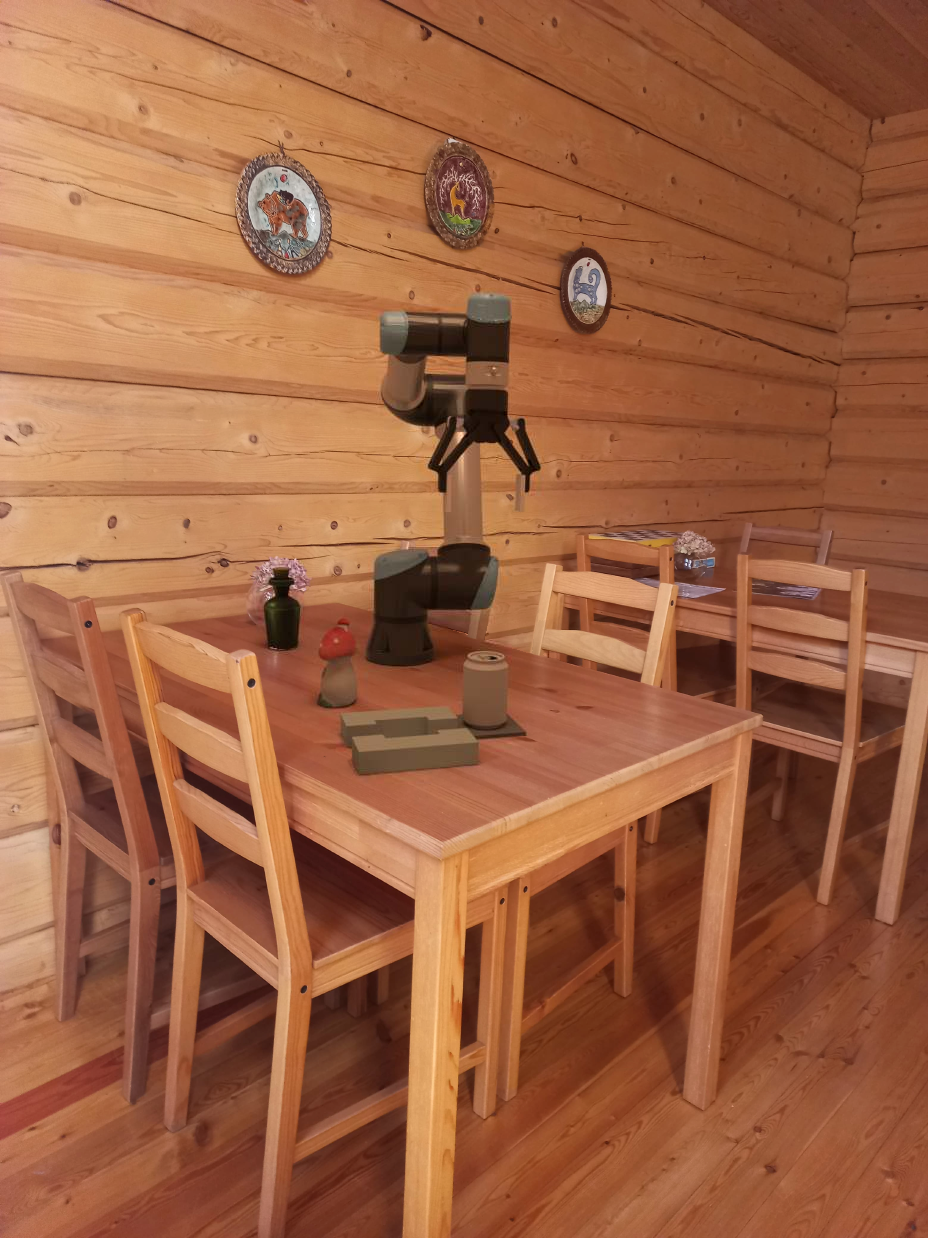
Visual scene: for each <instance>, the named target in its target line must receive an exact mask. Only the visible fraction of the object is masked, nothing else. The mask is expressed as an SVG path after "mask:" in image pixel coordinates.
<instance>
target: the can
mask: <svg viewBox="0 0 928 1238" xmlns="http://www.w3.org/2000/svg"><path fill="white" fill-rule="evenodd" d="M505 659H506V656H505V655H504V654H503V653H501V652H498V651H489V650H483V651H482V650H481V651H473V652H470V653H468V654H467V659H466V660H465V661H464V662H463V665H462V667H463V671H462V672H463V673H462V707H461V708H462V711H461V713H462V719H463V720H464V721H465V722H466V723H467V724H468V725H469V726H470V727H473V728H478V729H493V728H497V727H500V726H501V725H502V724H503V723H504V722H505V721H506V719H507V714H508V688H509V664H508V663H507V661H506V660H505Z"/></svg>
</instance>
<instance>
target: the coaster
mask: <svg viewBox="0 0 928 1238" xmlns="http://www.w3.org/2000/svg"><path fill="white" fill-rule="evenodd" d="M455 715H456V717H457V718H458V729H461V728H467V729H468V730H469V731H470V733H471V734H472V735H473V736H474V737H475V738H476V739H477V740H481V739H482V740H483V739H495V738H497V739H498V738H507V737H520V736H527V731H526V730H525V729H524V728H523V727H522V726H521V725H520V724H519V723H518V722H517V721H516V720H515V719H513V718H512V717H511V716H510V714H508V713H507V719H506V721H505V722H504V723H503V724H502V725H501V726H500V727H497V728H493V729H478V728H473V727H470V726H469V725H468V724H467V723H466V722H465V721H464V720H463V719H462V714H461V713H460V714H455Z"/></svg>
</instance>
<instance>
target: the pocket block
mask: <svg viewBox="0 0 928 1238" xmlns="http://www.w3.org/2000/svg"><path fill="white" fill-rule="evenodd" d="M339 714H340V715H339V716H340V718H339V719H340V721H339V722H340V725H339V726H340V727H339V728H340V735H341V736H340V737H342V740H343V742H344V745H345V746H346V748H351V760H352V762H353V765H354V767H355V769H356V771H357V773H358V775H359V776H360V775H361V776H362V775H372V774H375V775H376V774H383V773H384V774H386V773H398V772H406V771H418V770H419V771H420V770H428V769H431V770H432V769H439V768H440V769H441V768H451V767H463V766H474V765H479V757H480V756H479V755H480V754H479V752H480V751H479V749H480V747H479V746H480V742H479V741H478V739H476V738H475V737H474V736H473V735H472V734H471V733H470V731H469V730H468V729H467V728H461V729H458V718H457V717H456V715H457V714H455V713H454V712H453V710H451V708H450V707H449V706H448V705H442V706H427V707H425V706H424V707H416V708H415V707H411V708H397V709H386V710H385V709H384V710H381V709H380V710H369V711H368V710H367V711H354V712H340V713H339Z"/></svg>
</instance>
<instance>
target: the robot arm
mask: <svg viewBox="0 0 928 1238" xmlns="http://www.w3.org/2000/svg"><path fill="white" fill-rule="evenodd" d="M511 303H512V302H511V299H510V298H509V296H507V295H505V294H501V293H476V294H475V293H474V294H472V295H470V296H469V297H468V299H467V304H466V306H467V307H466V311H465V313H458V312H457V313H456V312H455V313H454V312H453V313H451V312H426V311H408V310H407V311H404V310H402V309H401V310H393V311H392V310H391V311H390V310H389V311H384V312H382V313H381V314H380V316H379V351H380V352H381V353H382V354H384V355H388V358H387V368H386V369H387V370H386V373H385V375H384V376H383V377H382V379H381V384H380V396H381V401H382V402H383V405H384V406H385V407H386V409H387V410H388V411H389V412H390V413H391V414H392V415H393V416H395V417H396V418H397V419H399V420H400V421H402V422H404V423H406V424H410V425H413V426H417V427H432V428H434V435H435V436H436V438H437V439H438V440H439V442H438V443H437V445H436V447H435V450H434V451H433V453H432V455H431V458H430V460H429V462H428V463H427V469H428V470H430V471H433V472H435V473H437V491H438V492H439V493H442V511H443V512H442V513H443V542H442V544H440V545H439V546H438V547H437V550H436V552H437V553H436V555H435V556H434V555H432V556H431V555H430V553H429V551H428V549H425V548H407V549H405V548H404V549H398V550H392V551H388V552H385V553H381V554H380V555H378V556H377V557H376V558H375V560H374V565H373V576H372V580H373V623H372V627H371V629H370V632H369V636H368V638H367V642H366V645H365V659H366V660H368V661H370V662H373V663H374V664H375V663H376V664H379V665H387V666H388V665H389V666H414V665H422V664H426V663H429V662H432V661H433V660H434V659H435V658H436V646H435V642H434V640H433V639H434V638H433V637H432V633H431V630H430V627H429V623H428V611H469V612H472V611H477V610H478V611H479V610H487V609H489V608H490V607H491V606H492V604H493V603H494V600H495V597H496V591H497V586H498V585H497V584H498V578H499V558H498V556H495V555H491V554H492V553H491V546H490V545H489V544H487V543H486V542H485V540H484V529H483V527H484V525H483V523H484V522H483V501H482V500H483V498H482V467H481V466H482V465H481V444H486V443H487V444H496V443H497V444H498V445H499V446H500V447H501V448H502V449H503V451H504V452H505V453H506V455H507V456H508V457H509V459H510V460H511V462H512V463H513V464H514V466H515V467H516V468H517V470H518V471H519V472H520V474H517V473H516V476H515V499H514V500H515V501H514V507H515V508H514V510H515V512H520V513H523V512H525V500H526V499H525V494H526V493H527V494H529V492H530V491H531V489H530V487H531V485H530V484H531V475H532V474H533V473H535V472H536V473H537V472H540V471H541V469H542V467H541V464H540V462H539V460H538V457H537V455H536V451H535V449H534V448H533V447H534V446H533V445H532V443H531V441H530V438H529V436H528V432H527V430H526V429H527V428H526V419H524V418H523V417H516V418H513V419H509V415H508V413H509V392H508V390H506V388H508V386H509V382H510V381H509V377H510V376H509V375H510V342H511V320H512V316H513V315H512V314H511V311H512V310H511V309H512V307H511V306H512V305H511ZM428 357H452V358H455V357H456V358H457V357H458V358H465V373H464V374H459V373H458V374H457V373H456V374H455V373H454V374H453V373H451V374H450V373H448V374H447V373H426V367H427V361H428ZM509 427H510V428H511V430H512V431H513V432H515V437H516V439H517V441H518V443H519V446H520V449H521V450H522V453H523V455H524V457H525V460H524V458H523V456H522V455H521V454H520V452H519V451H518V450H517V449H516V447H515V445H513V443H512V442H511V440H510V438H509V437H508V435H507V434H506V432H507V430H508V429H509Z"/></svg>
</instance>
